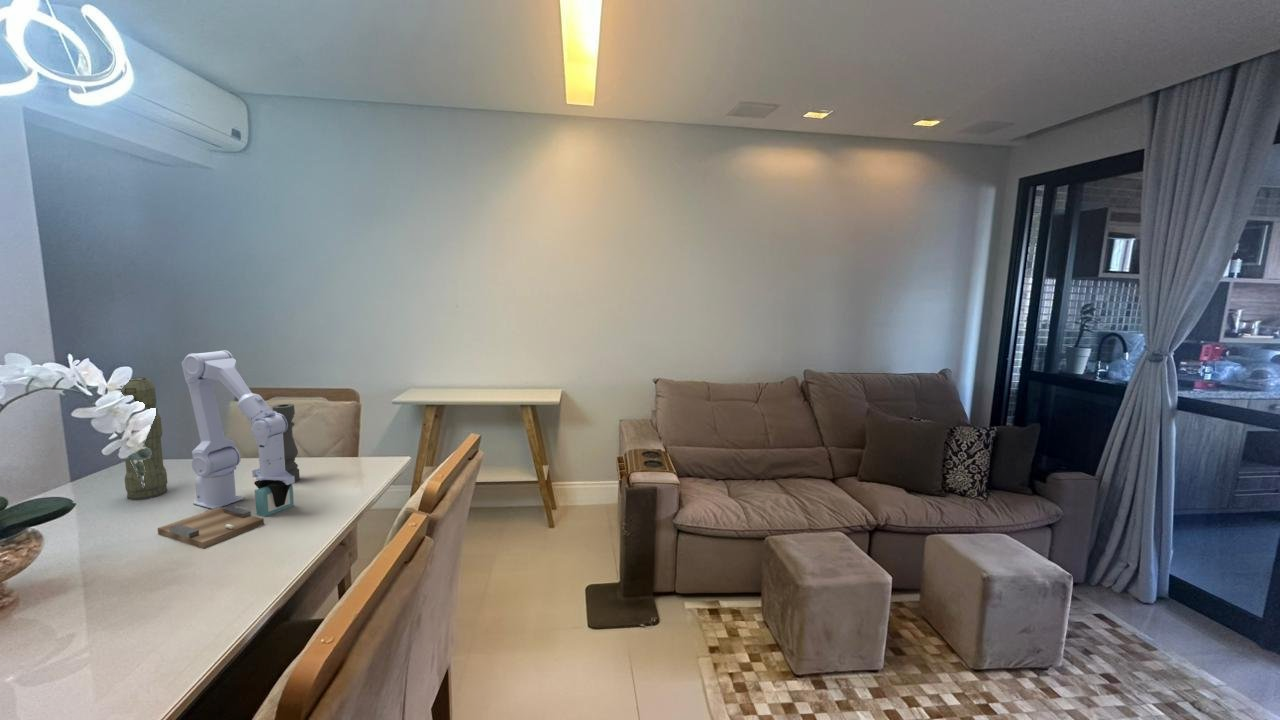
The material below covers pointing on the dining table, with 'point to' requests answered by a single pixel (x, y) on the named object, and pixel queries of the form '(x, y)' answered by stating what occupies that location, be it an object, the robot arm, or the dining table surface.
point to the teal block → (271, 501)
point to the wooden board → (211, 526)
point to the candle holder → (289, 440)
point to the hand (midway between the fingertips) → (275, 504)
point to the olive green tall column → (153, 466)
